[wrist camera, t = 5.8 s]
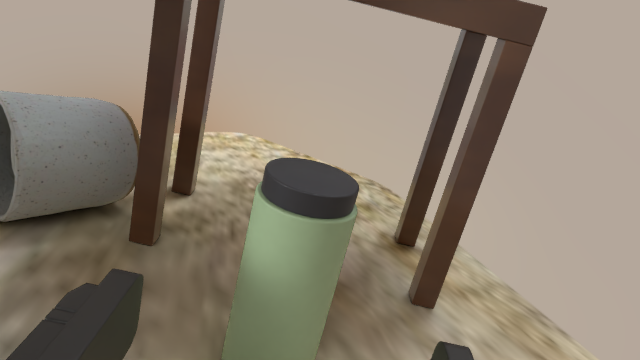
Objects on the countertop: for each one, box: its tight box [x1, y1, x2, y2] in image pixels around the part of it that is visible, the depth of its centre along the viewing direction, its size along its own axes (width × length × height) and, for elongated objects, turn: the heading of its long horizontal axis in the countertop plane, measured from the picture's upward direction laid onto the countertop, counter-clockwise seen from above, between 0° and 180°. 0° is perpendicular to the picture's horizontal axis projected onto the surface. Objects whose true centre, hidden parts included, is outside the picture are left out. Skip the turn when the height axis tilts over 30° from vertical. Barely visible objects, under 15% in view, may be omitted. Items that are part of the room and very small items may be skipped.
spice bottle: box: [222, 158, 359, 360], centre depth 22 cm, size 4×4×10 cm
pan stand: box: [129, 0, 547, 309], centre depth 36 cm, size 20×23×21 cm
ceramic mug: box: [0, 91, 140, 222], centre depth 32 cm, size 11×8×8 cm
